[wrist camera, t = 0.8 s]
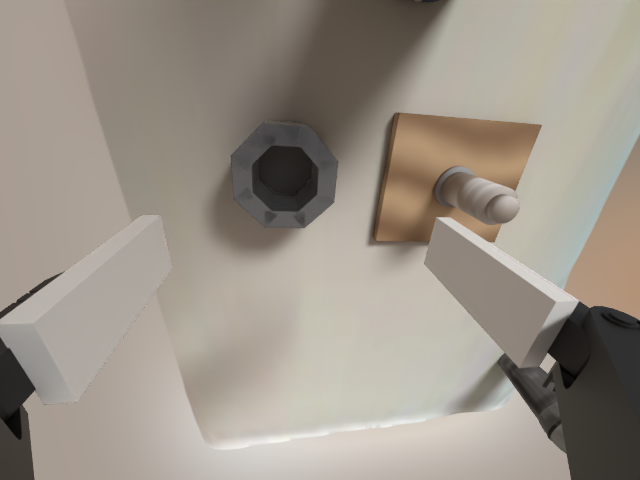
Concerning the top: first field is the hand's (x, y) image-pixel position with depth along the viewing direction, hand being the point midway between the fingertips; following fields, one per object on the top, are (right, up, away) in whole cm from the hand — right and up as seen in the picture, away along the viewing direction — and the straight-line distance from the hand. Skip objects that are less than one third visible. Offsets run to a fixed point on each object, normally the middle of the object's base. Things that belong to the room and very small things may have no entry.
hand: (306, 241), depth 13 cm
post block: (+16, +7, +18) cm, 25 cm away
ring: (-3, +8, +15) cm, 17 cm away
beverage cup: (+35, -21, +35) cm, 54 cm away
